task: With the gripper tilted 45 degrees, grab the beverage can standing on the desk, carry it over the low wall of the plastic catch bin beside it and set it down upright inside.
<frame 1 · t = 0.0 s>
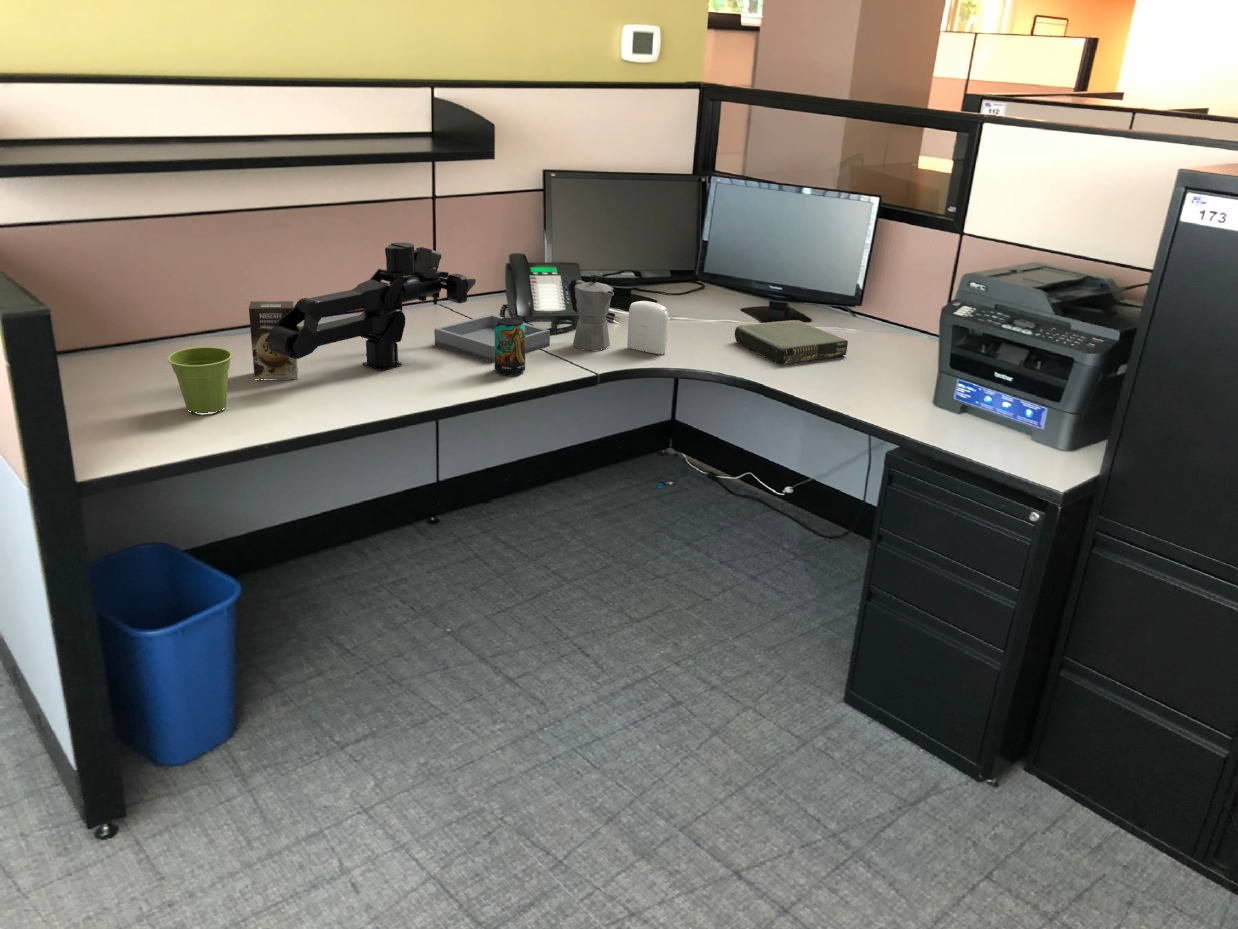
hand: (461, 277, 244), 17 cm above the table, tool horizontal, fingers open, 9 cm apart
coffeepot: (588, 345, 256), on the table
photo printer: (646, 351, 254), on the table
plant pot: (206, 410, 201), on the table
coffee box: (276, 376, 222), on the table
catch bin: (492, 345, 251), on the table
network switch: (788, 351, 261), on the table
beverage can: (509, 372, 233), on the table
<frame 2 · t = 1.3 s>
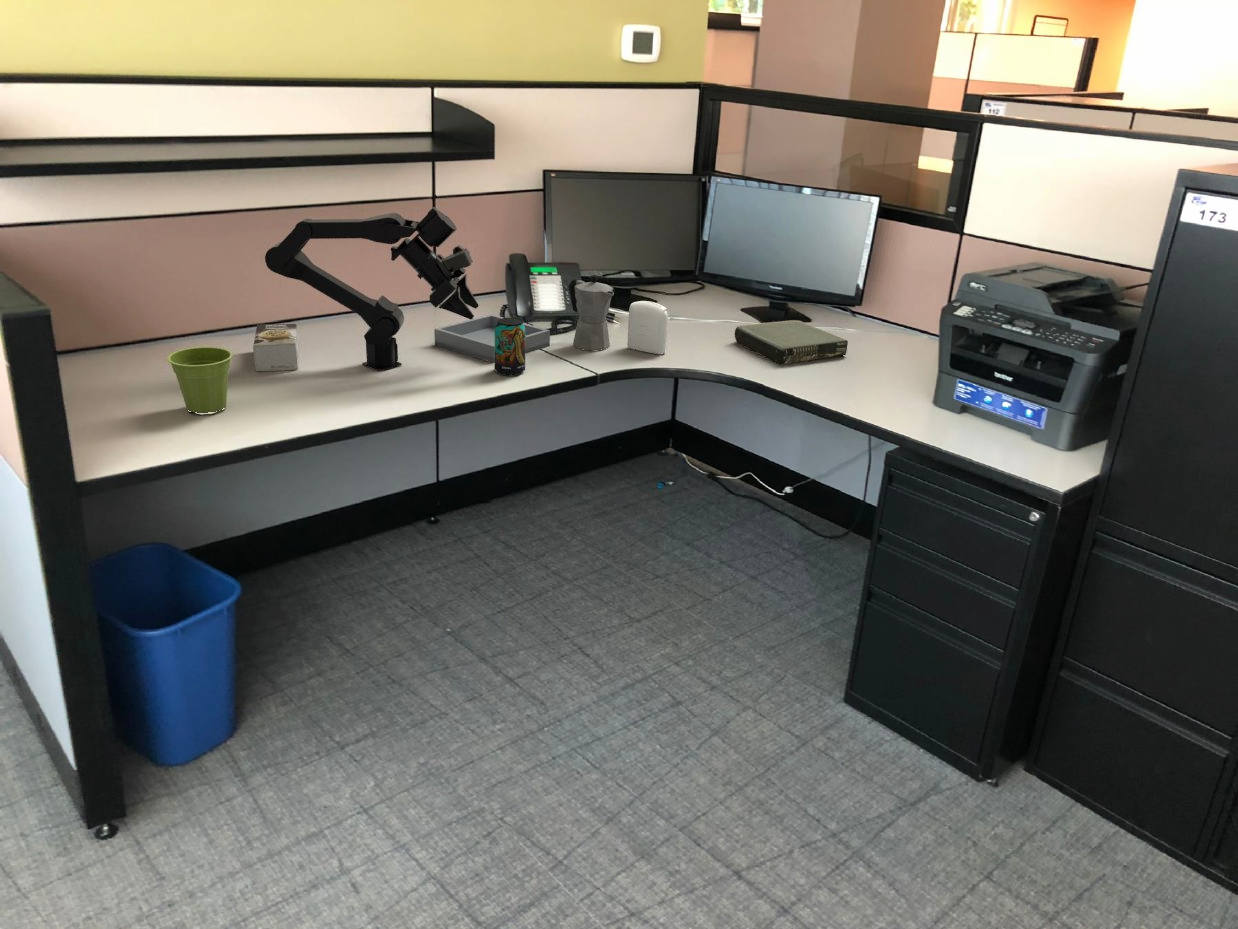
hand: (475, 312, 227), 13 cm above the table, tool tilted 45°, fingers open, 9 cm apart
coffee box: (275, 357, 223), point 3 cm above the table
everything else where it was.
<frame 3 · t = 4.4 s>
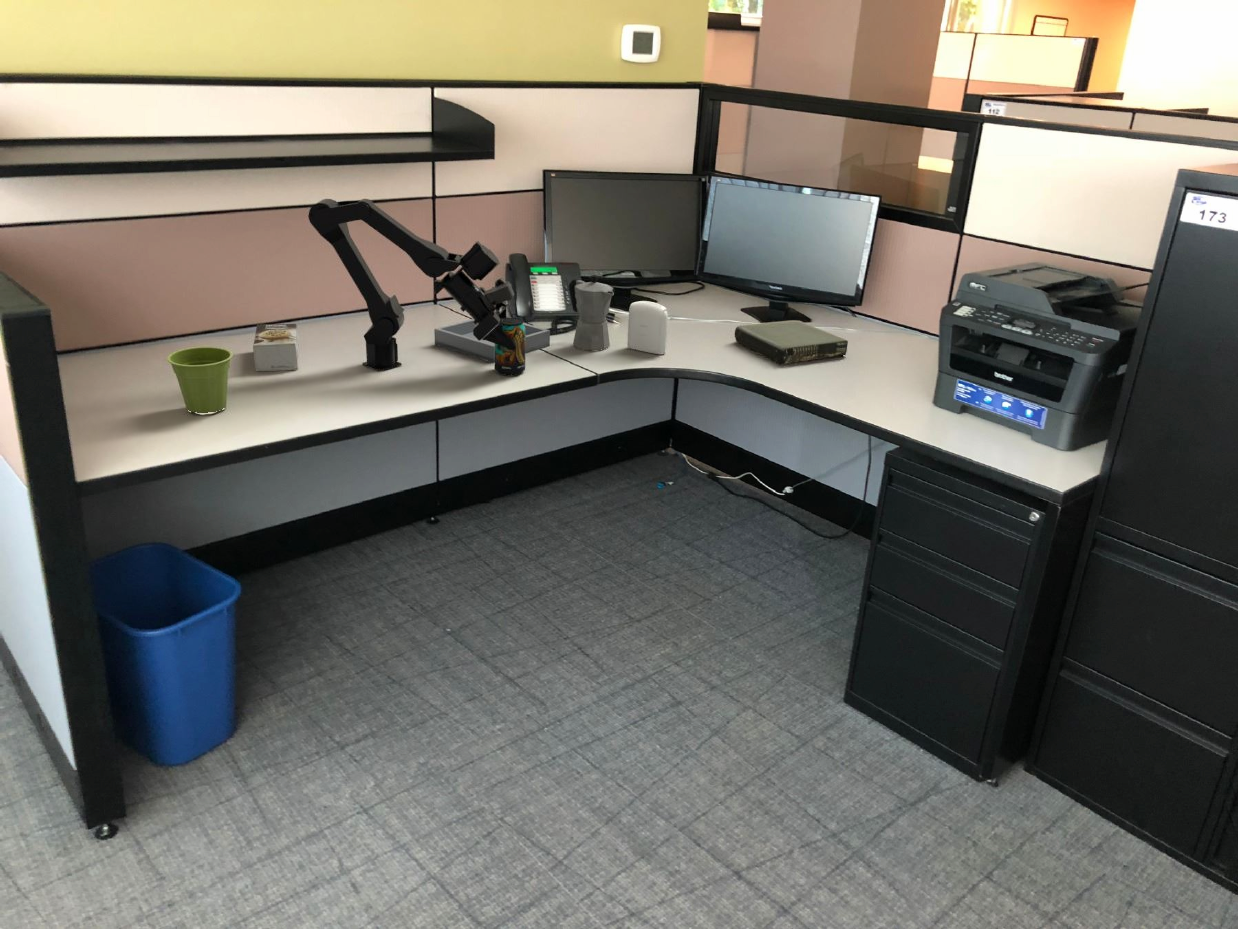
hand: (516, 344, 230), 7 cm above the table, tool tilted 45°, fingers closed on beverage can, 7 cm apart
beverage can: (509, 372, 233), on the table, touching gripper
everything else where it was.
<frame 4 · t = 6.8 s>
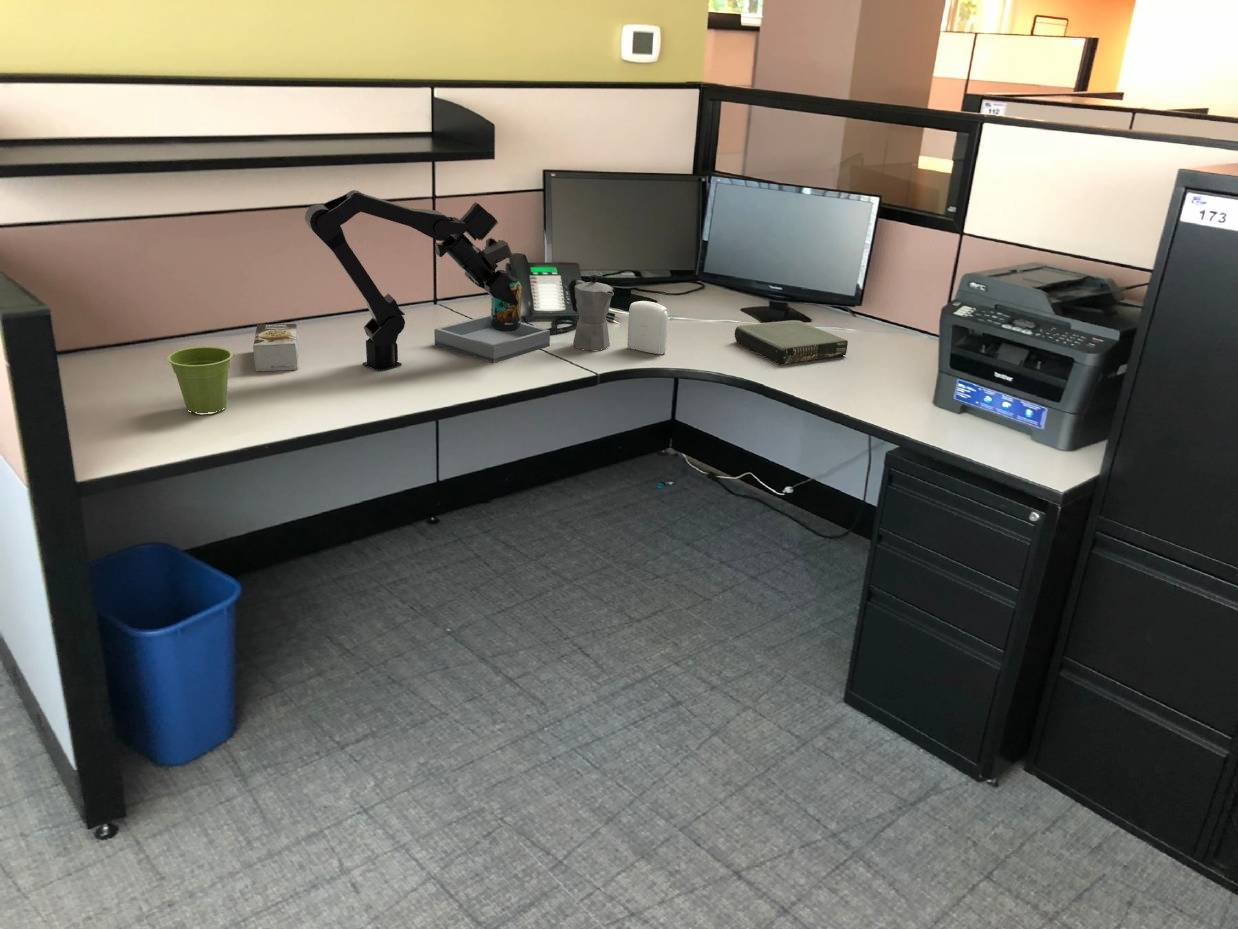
hand: (511, 300, 240), 13 cm above the table, tool tilted 45°, fingers closed on beverage can, 7 cm apart
beverage can: (505, 328, 242), point 6 cm above the table, touching gripper
everything else where it was.
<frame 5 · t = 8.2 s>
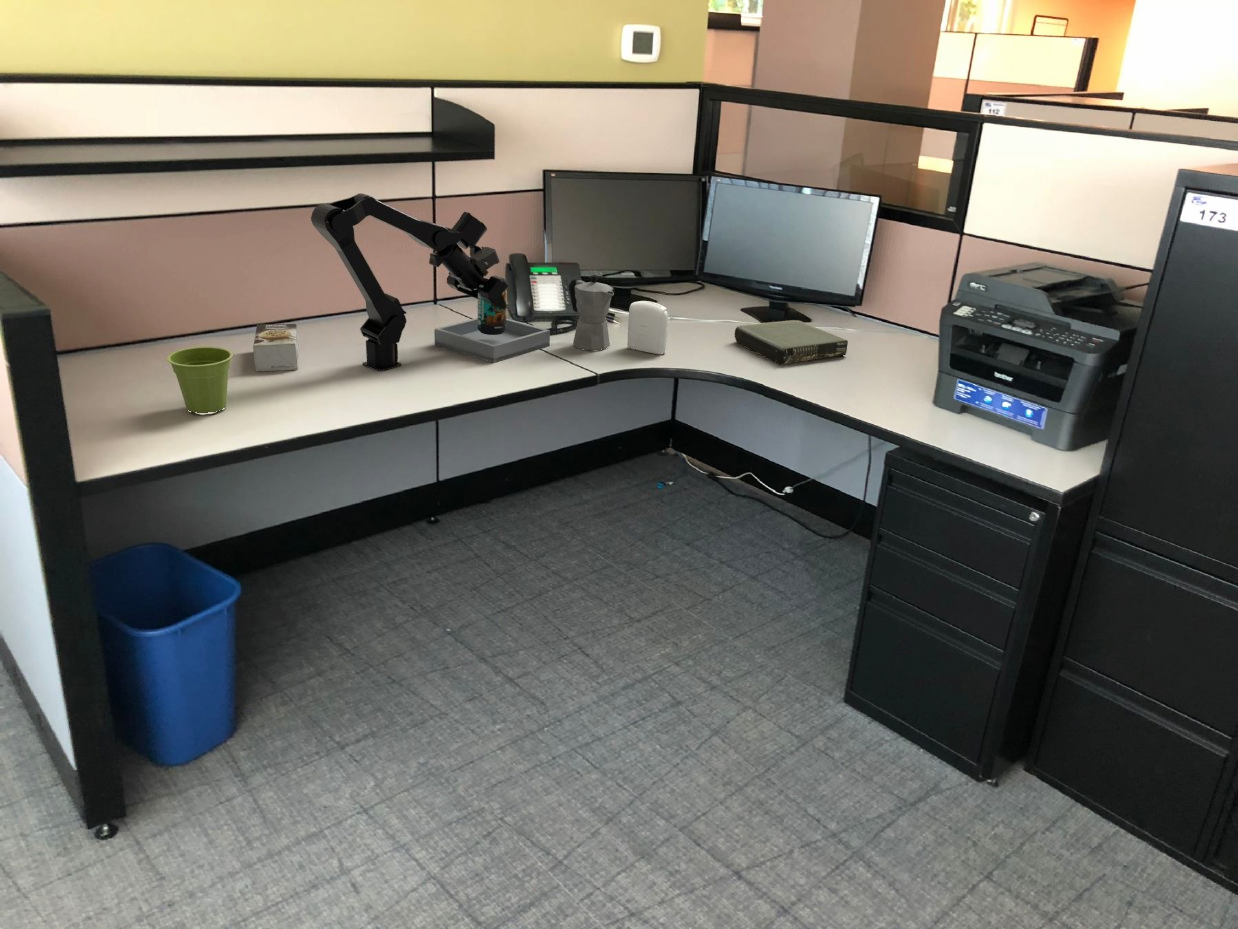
hand: (496, 304, 248), 10 cm above the table, tool tilted 45°, fingers closed on beverage can, 7 cm apart
beverage can: (491, 332, 249), point 3 cm above the table, touching gripper
everything else where it was.
when the fingers open (9 cm above the table, at t = 9.5 s): beverage can stays where it is, resting on catch bin.
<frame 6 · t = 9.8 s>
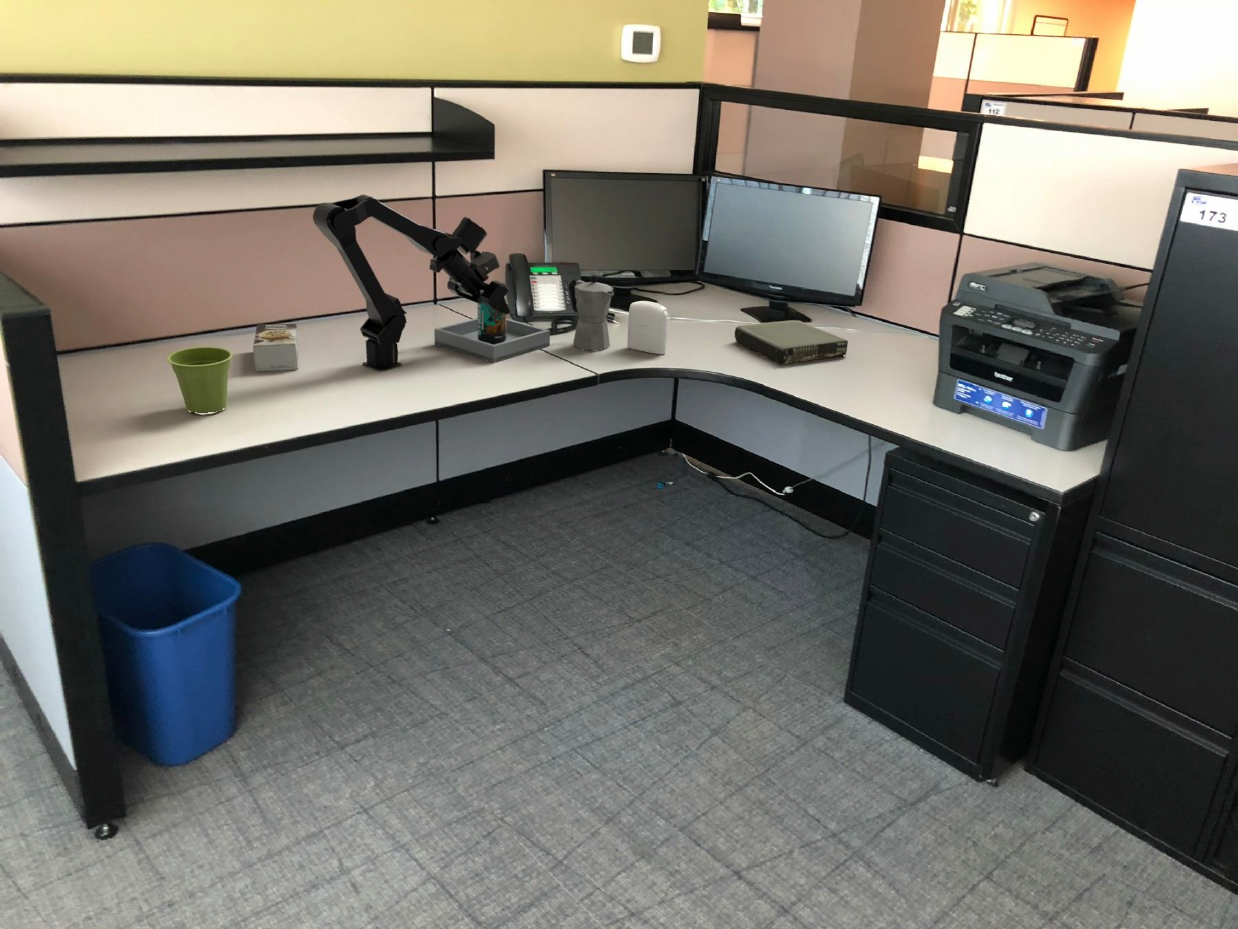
hand: (497, 308, 248), 9 cm above the table, tool tilted 45°, fingers open, 9 cm apart
beverage can: (492, 342, 250), point 1 cm above the table, touching catch bin
everything else where it was.
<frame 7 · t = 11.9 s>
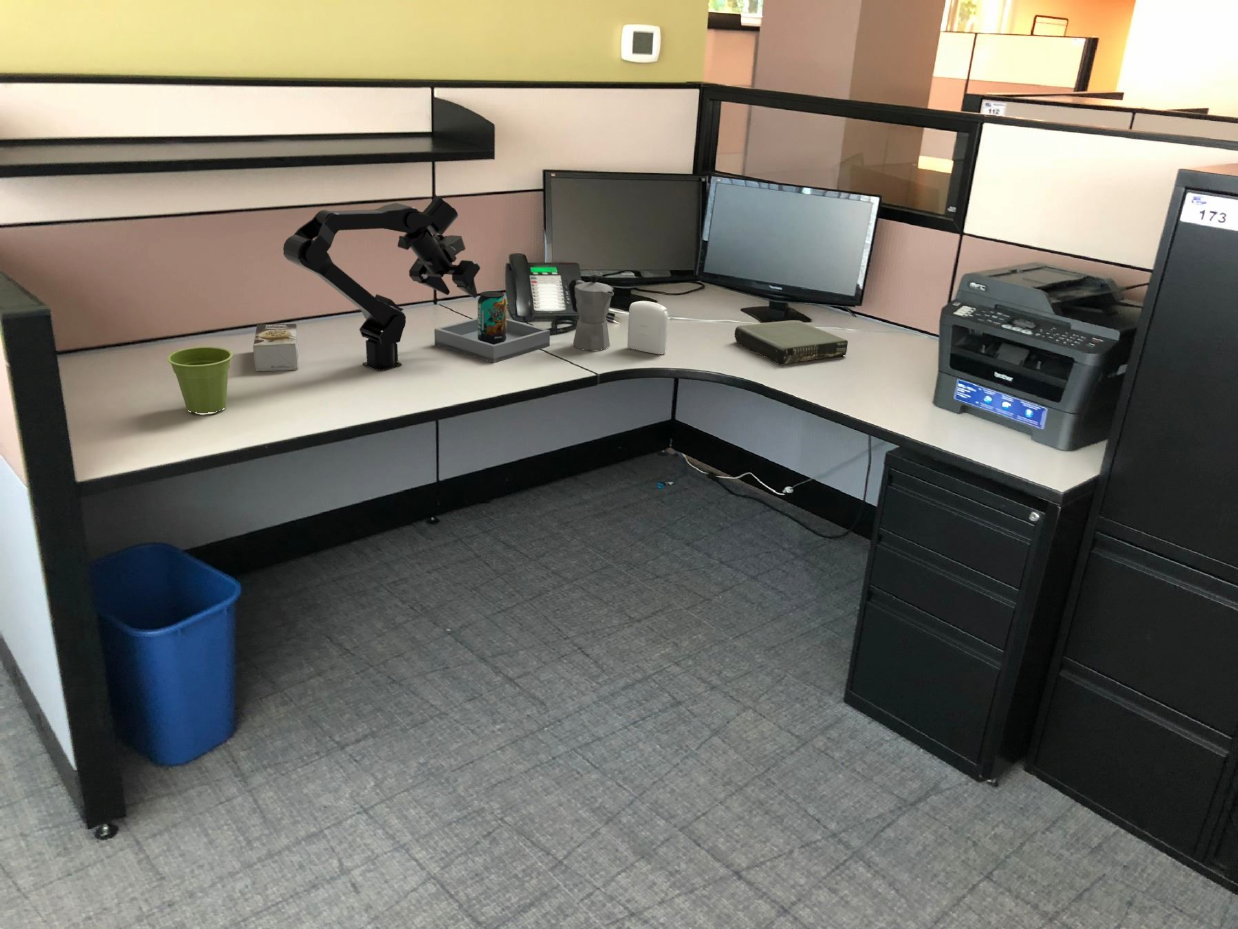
hand: (462, 295, 242), 13 cm above the table, tool tilted 40°, fingers open, 9 cm apart
nothing on the table moved.
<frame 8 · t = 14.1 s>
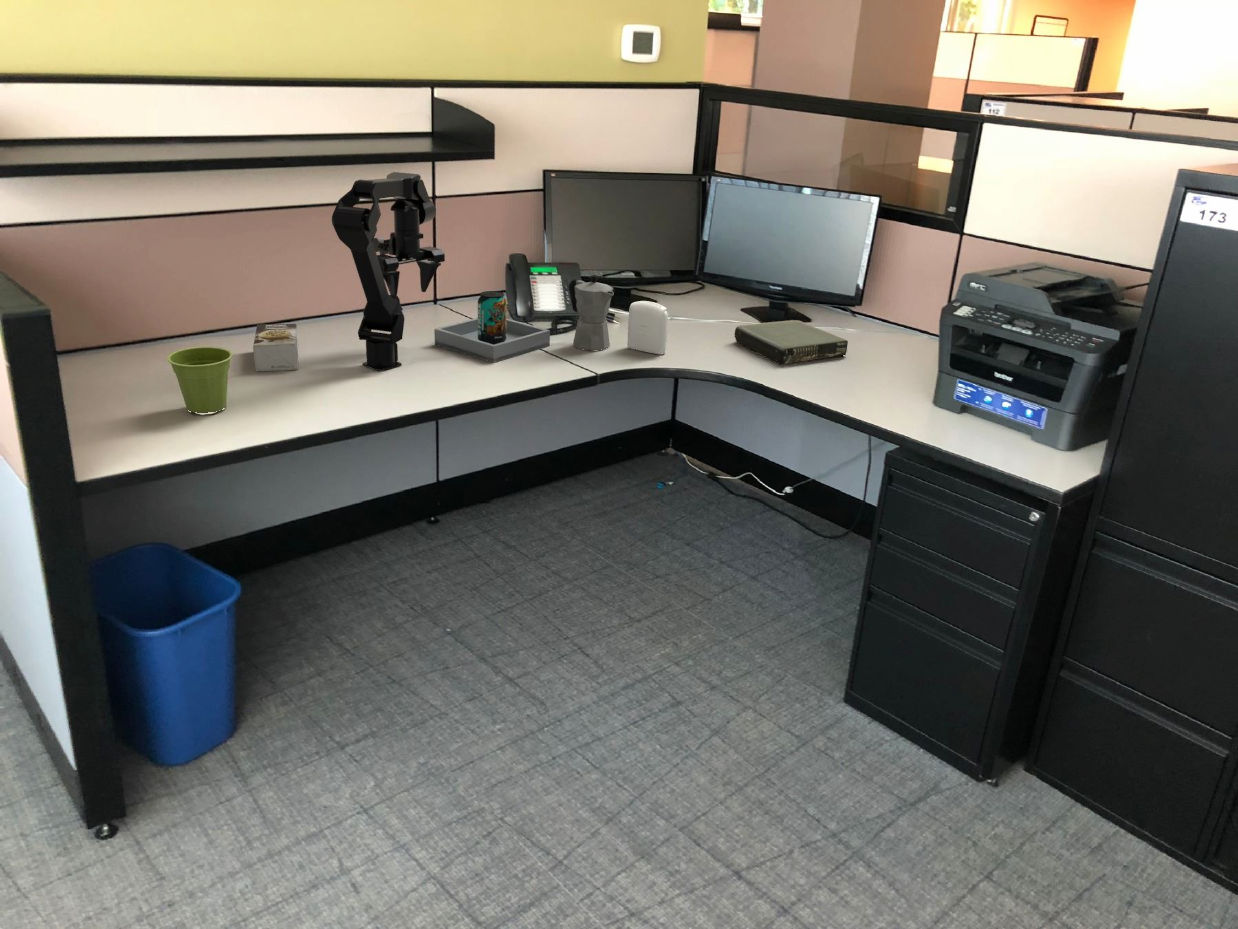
hand: (408, 295, 240), 13 cm above the table, tool pointing down, fingers open, 9 cm apart
nothing on the table moved.
at the end: beverage can inside the target area on the catch bin (0.2 cm from its centre), point 0.8 cm above the catch bin's base; beverage can tilted 0°; the gripper is holding nothing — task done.
